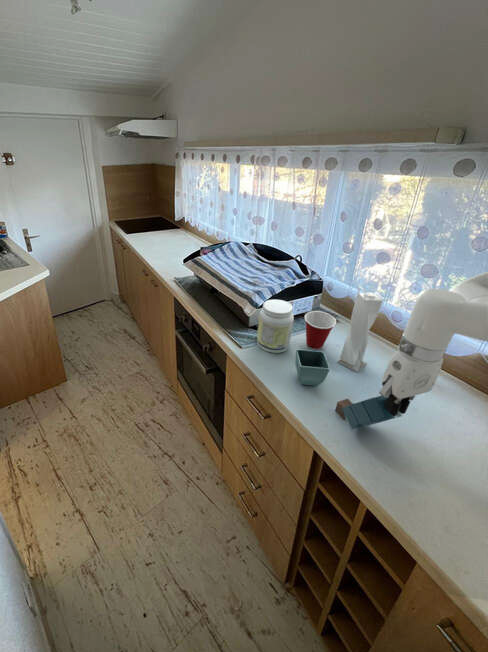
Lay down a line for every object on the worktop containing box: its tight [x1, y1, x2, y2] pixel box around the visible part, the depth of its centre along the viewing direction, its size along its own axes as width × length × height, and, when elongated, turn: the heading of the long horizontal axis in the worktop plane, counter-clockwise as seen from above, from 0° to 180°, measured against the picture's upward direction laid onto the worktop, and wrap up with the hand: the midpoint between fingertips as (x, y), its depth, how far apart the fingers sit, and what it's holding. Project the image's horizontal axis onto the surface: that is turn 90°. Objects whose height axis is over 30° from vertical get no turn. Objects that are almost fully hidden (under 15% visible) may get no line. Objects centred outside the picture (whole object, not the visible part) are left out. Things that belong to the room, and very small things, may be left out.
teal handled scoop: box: [341, 395, 405, 431], centre depth 76 cm, size 19×12×6 cm
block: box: [334, 398, 354, 421], centre depth 86 cm, size 4×4×4 cm
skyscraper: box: [336, 285, 384, 373], centre depth 101 cm, size 8×8×28 cm
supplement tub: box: [256, 299, 295, 354], centre depth 113 cm, size 12×12×17 cm
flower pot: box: [294, 348, 331, 387], centre depth 97 cm, size 9×9×9 cm
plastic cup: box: [304, 310, 337, 350], centre depth 113 cm, size 11×11×12 cm
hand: (393, 409), depth 72 cm, fingers closed on teal handled scoop
